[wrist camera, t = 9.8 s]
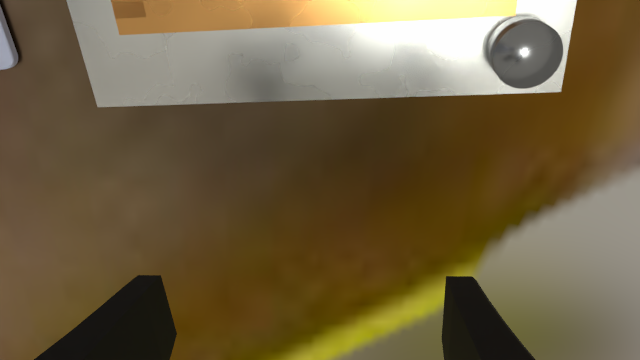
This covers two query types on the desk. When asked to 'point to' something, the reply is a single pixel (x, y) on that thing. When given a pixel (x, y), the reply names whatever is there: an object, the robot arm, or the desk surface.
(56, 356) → the robot arm
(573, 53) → the desk surface
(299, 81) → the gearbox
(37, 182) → the desk surface
